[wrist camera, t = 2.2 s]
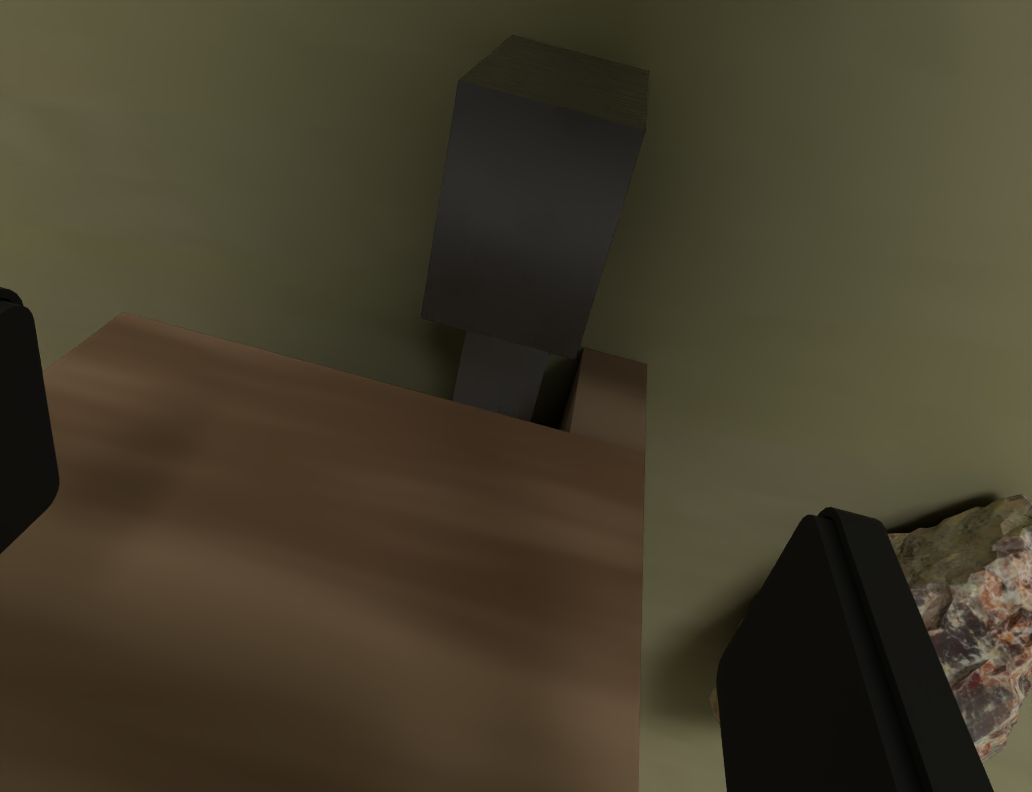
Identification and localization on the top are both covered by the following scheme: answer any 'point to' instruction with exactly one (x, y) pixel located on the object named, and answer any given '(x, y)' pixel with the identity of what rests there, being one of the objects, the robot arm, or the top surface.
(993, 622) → the rock
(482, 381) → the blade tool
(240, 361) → the cabinet
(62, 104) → the top surface
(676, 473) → the top surface
